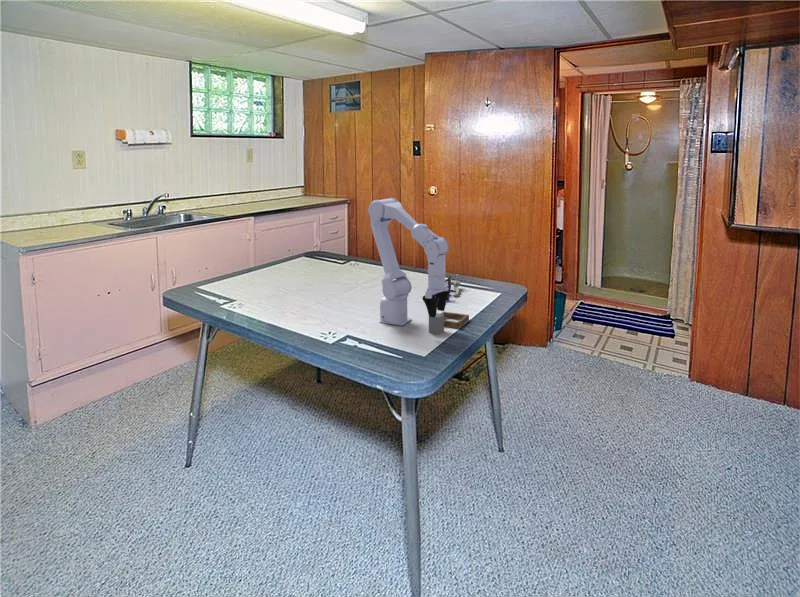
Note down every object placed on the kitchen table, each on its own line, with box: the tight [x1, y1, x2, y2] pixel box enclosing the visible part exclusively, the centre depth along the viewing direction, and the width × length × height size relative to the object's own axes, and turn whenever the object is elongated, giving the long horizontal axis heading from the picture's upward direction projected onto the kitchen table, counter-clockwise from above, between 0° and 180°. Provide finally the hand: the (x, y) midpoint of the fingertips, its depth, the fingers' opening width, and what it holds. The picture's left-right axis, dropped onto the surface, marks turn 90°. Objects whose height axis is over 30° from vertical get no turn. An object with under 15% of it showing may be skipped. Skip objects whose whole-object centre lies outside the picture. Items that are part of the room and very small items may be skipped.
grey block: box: [428, 312, 445, 335], centre depth 182 cm, size 4×4×6 cm
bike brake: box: [435, 273, 461, 298], centre depth 227 cm, size 14×7×20 cm
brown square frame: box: [440, 310, 470, 330], centre depth 192 cm, size 10×10×2 cm
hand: (436, 313), depth 181 cm, fingers open, 7 cm apart
